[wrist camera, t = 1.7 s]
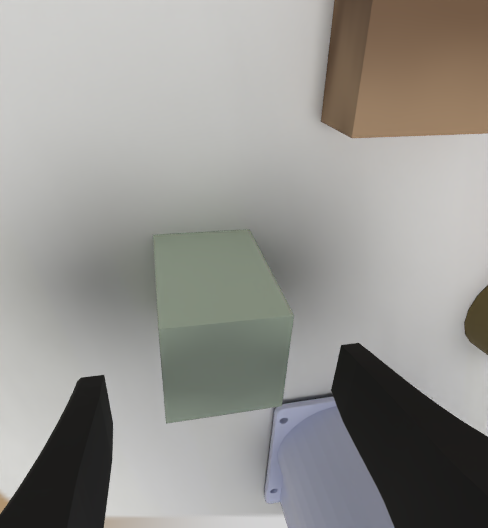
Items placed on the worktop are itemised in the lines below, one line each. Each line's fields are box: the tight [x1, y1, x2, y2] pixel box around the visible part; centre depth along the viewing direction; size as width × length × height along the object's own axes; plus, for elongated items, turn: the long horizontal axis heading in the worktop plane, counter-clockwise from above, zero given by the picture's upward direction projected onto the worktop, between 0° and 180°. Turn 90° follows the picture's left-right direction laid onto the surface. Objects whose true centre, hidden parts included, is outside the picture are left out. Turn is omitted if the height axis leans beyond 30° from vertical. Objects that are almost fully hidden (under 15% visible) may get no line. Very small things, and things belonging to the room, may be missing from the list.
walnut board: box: [321, 0, 488, 138], centre depth 13 cm, size 7×7×3 cm
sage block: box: [153, 230, 294, 423], centre depth 15 cm, size 4×4×6 cm
